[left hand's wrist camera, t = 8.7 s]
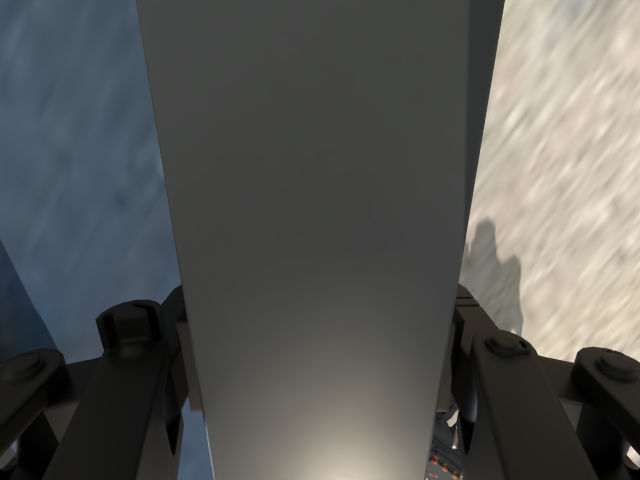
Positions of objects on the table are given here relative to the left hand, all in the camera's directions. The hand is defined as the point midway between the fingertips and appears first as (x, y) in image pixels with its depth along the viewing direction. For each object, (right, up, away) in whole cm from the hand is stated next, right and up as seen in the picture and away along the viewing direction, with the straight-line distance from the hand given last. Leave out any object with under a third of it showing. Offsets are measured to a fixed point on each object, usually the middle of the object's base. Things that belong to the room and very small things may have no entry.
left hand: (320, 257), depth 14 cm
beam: (0, +26, -9) cm, 28 cm away
